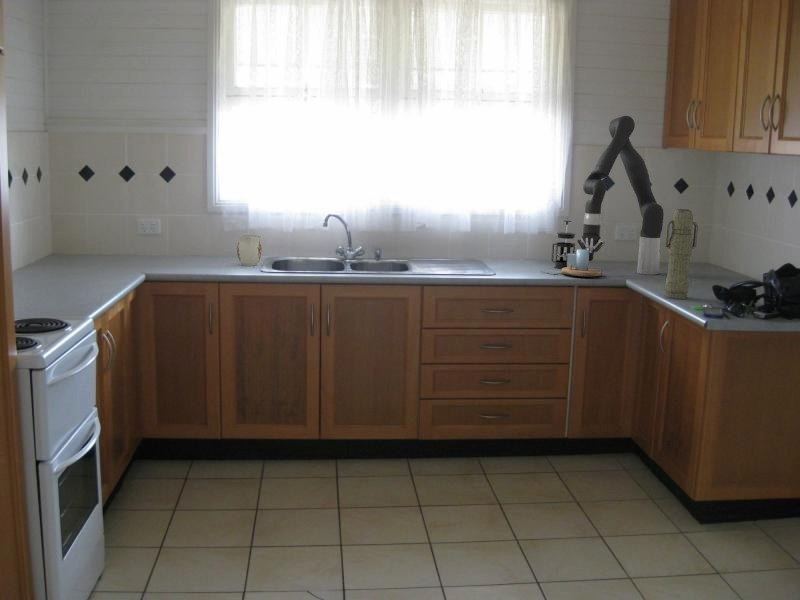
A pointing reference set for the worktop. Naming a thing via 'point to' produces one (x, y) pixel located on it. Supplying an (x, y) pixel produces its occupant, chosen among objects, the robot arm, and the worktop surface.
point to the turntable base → (582, 276)
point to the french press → (565, 235)
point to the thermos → (679, 253)
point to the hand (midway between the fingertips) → (589, 260)
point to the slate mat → (553, 272)
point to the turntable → (581, 273)
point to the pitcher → (249, 249)
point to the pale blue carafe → (579, 260)
